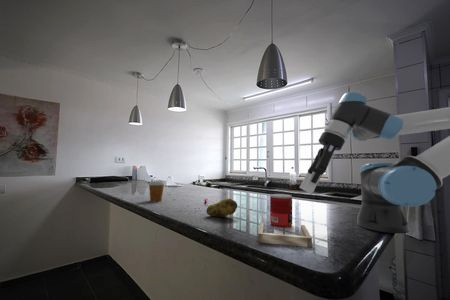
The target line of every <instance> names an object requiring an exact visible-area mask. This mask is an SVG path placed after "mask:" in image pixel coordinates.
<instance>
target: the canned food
mask: <svg viewBox="0 0 450 300" xmlns="http://www.w3.org/2000/svg"><path fill="white" fill-rule="evenodd" d="M269 197H270V198H269V201H270V202H269V204H270V205H269V208H270V209H269V213H270V214H269V215H270V216H269V219H270V220H269V221H270V225H271V226H273V227H275V228H282V229H286V228H287V229H288V228H291V227H292V226H293V196H292V195H291V194H286V193H285V194H284V193H273V194H271V193H270V196H269Z"/></svg>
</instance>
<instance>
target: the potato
mask: <svg viewBox="0 0 450 300" xmlns="http://www.w3.org/2000/svg"><path fill="white" fill-rule="evenodd" d="M237 208H238V204H237V201H235V200H234V199H233V198H232V199H231V198H225V199H221V200H220V201H219V202H216V203H214V204H212V205H209V206H207V208H206V213H207V215H208V216H210V217H216V218H217V217H218V218H222V217H223V218H225V217H227V216H230V215H233V214H234V213H235V212H236V211H237Z"/></svg>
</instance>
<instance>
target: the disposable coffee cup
mask: <svg viewBox="0 0 450 300" xmlns="http://www.w3.org/2000/svg"><path fill="white" fill-rule="evenodd" d="M148 182H149V183H148V187H149V199H150V200H149V201H150V202H151V201H160V202H162V198H163V193H164V189H165V188H164V186H165V181H164V180H150V181H148Z"/></svg>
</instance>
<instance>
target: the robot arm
mask: <svg viewBox="0 0 450 300" xmlns="http://www.w3.org/2000/svg"><path fill="white" fill-rule="evenodd" d="M367 102H368V99H367V97H366V96H365V95H363V94H362V93H359V92H356V91H348V92H346V93H344V94H343V95H342V96H341V98H340V99H339V102H338V103H337V104H336V107H335V108H334V111H333V113H332V114H331V117H330V118H329V120H328V122H326V123H325V128H324V130H323V132H322V133H321V135H320V136H319V139H318V143H319V144H320V145H322V146H323V147H321V148H319V150H318V151H317V154H316V156H315V157H314V159H313V161H312V163H311V165H310V166H309V168H308V170H307V172H306V175H305V177H304V178H303V180H302V182H301V184H300V186H299V188H300V189H301V190H303V191H304V192H306V193H308V194H310V195H312V194H313V192H314V191H315V189H316V187H317V185H318V183H319V182H320V179H321V178H322V176H323V175H324V174H325V173H326V171H327V168H328V166H329V164H330V162H331V159H332V157H333V154H334V153H335V151H341V150H342V148H343V146H344V145H345V142H346V140H347V139H348V137H349V135H350V136H351V138H353V139H354V140H355V141H359V142H364V141H367V140H373V139H381V138H382V139H386V140H392V139H393V138H395V137H396V136H404V135H410V134H417V133H418V134H419V133H426V132H435V131H441V130H448V129H450V106H449V107H441V108H434V109H428V110H422V111H414V112H408V113H403V114H402V113H401V114H396V115H394V114H392V113H389V112H386V111H384V110H380V109H377V108H374V107H372V106H371V105H370V106H369V105H368V104H367ZM359 175H360V189H361V190H360V193H361V206H360V209H359V211H358V215H357V216H356V217H357V218H356V224H357V226H358V227H362V228H364V229H367V230H371V231H375V232H383V233H387V234H407V233H409V232H410V230H409V228H410V227H409V223H408V221H407V219H406V216H405V214H404V212H403V210H402V207H408V208H410V207H413V208H414V207H420V206H423V205H425V204H427V203H428V202H430V201H432V200H433V198H434V197H435V195H436V190H438V189H440V188H441V187H442V186H443V184H444V183H443V179H444V178H446V177H448V176H450V135H448V136H447V137H445V138H443V139H442V140H441V141H439V142H438V143H435V144H434V145H433V146H431V147H430V148H428V149H426V150H424V151H423V152H421V153H420V154H418V155H416V156H413V155H406V156H403V158H401V159H400V160H398V161H396V162H394V163H393V162H375V163H366V164H364V165H362V166H360V172H359Z"/></svg>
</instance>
